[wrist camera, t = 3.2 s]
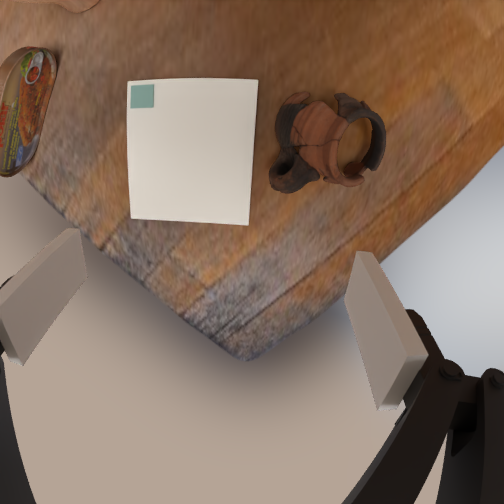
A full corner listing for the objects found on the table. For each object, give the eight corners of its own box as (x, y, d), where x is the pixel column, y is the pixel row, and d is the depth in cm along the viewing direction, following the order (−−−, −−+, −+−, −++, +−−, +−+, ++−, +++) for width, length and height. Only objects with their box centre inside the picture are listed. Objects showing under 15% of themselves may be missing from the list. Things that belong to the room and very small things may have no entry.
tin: (34, 167, 32) (-9, 188, 25) (18, 160, 32) (-25, 179, 24) (66, 50, 26) (21, 46, 18) (47, 46, 25) (2, 43, 18)
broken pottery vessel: (309, 67, 28) (370, 77, 22) (349, 127, 34) (403, 150, 28) (228, 151, 29) (274, 182, 23) (282, 202, 36) (329, 239, 30)
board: (258, 80, 28) (258, 79, 27) (248, 221, 35) (248, 226, 34) (132, 81, 28) (126, 81, 27) (134, 214, 35) (130, 219, 34)
